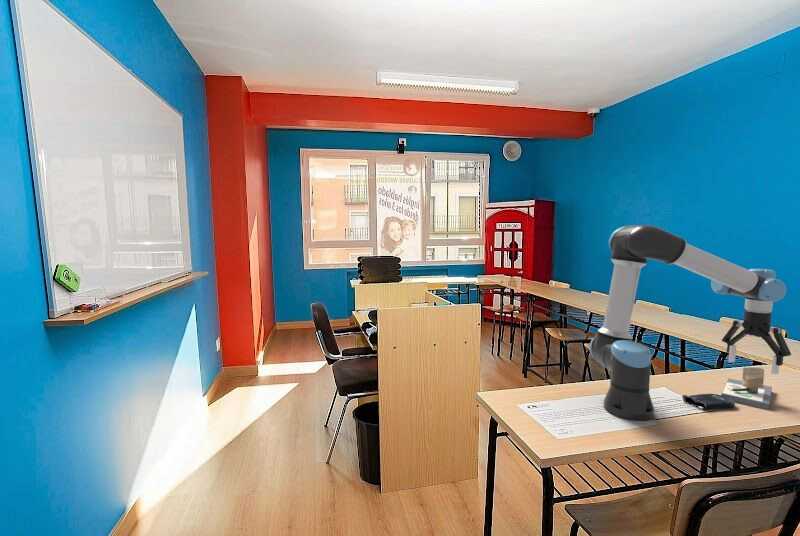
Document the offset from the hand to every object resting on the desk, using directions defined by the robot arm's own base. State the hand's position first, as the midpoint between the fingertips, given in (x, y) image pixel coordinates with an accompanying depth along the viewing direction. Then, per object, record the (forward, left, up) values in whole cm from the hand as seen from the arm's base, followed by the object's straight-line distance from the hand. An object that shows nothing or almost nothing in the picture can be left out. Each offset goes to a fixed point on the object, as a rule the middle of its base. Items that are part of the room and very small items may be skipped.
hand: (752, 367), depth 146 cm
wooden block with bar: (-2, -1, -9) cm, 9 cm away
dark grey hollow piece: (-17, -11, -12) cm, 23 cm away
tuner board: (0, +3, -12) cm, 12 cm away
